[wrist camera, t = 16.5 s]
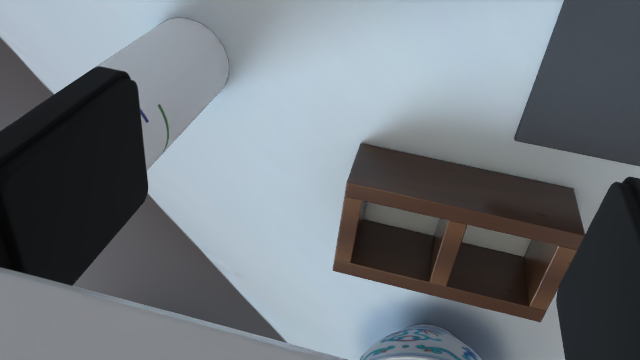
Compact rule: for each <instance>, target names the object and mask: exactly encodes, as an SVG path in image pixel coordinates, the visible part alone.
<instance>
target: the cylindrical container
mask: <svg viewBox="0 0 640 360" xmlns="http://www.w3.org/2000/svg"><path fill="white" fill-rule="evenodd" d="M98 66H101V67H106V68H111V69H116V70H120V71H125V72H127V73H128V74H129V76H130V78H131V80H134V81H135V82H136V84H137V86H138V93H139V103H140V113H141V122H142V132H143V142H144V151H145V161H146V171H147V170H148V169H149V168H150V167H151V166H152V165H153V164H154V162H155V161H156V160H157V159H158V158H159V157H160V156H161V155H162V154H163V153H164V152H165V151H166V149H167V148H168V147H169V146H170V145H171V144H172V143H173V142H174V141H175V140H176V139H177V138H178V136H179V135H180V134H181V133H182V132H183V131H184V130H185V129H186V128H187V127H188V126H189V125H190V124H191V122H192V121H193V120H194V119H195V118H196V117H197V116H198V115H199V114H200V113H201V112H202V111H203V110H204V108H205V107H206V106H207V105H208V104H209V103H210V102H211V101H212V100H213V99H214V98H215V97H216V96H217V94H218V93H219V92H220V91H221V90H222V89H223V87H224V86H225V84H226V82H227V79H228V74H229V62H228V58H227V54H226V52H225V49H224V47H223V45H222V44H221V42H220V41H219V39H218V38H217V37H216V36H215V34H214V33H213V32H211V31H210V30H209V29H208V28H207V27H205V26H203V25H202V24H200V23H198V22H196V21H193V20H191V19H185V18H173V19H170V20H166V21H165V22H163V23H161V24H160V25H158V26H157V27H155V28H154V29H152V30H151V31H149V32H148V33H146V34H145V35H143V36H142V37H140V38H139V39H137V40H135V41H134V42H132V43H131V44H129V45H128V46H126V47H125V48H123V49H122V50H120V51H119V52H117V53H116V54H114V55H113V56H111V57H110V58H108V59H107V60H105V61H104V62H102V63H101V64H99V65H98ZM96 67H97V66H96ZM18 119H19V118H18ZM15 121H16V120H15ZM9 125H10V124H9ZM6 127H7V126H6ZM3 129H4V128H3ZM0 131H1V130H0Z"/></svg>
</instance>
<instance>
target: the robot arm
mask: <svg viewBox="0 0 640 360" xmlns="http://www.w3.org/2000/svg"><path fill="white" fill-rule="evenodd" d="M147 193H148V180H147V171H146V161H145V151H144V142H143V132H142V122H141V113H140V103H139V93H138V86H137V84H136V82H135V81H134V80H131V78H130V76H129V74H128V73H127V72H125V71H120V70H116V69H111V68H106V67H101V66H97V67H95V68H93V69H92V70H90V71H89V72H87V73H86V74H84V75H83V76H81V77H80V78H78V79H77V80H75V81H74V82H72V83H71V84H69V85H68V86H66V87H65V88H63V89H62V90H60V91H59V92H57V93H56V94H54V95H53V96H51V97H50V98H48V99H47V100H45V101H44V102H42V103H41V104H39V105H38V106H36V107H35V108H33V109H32V110H30V111H29V112H27V113H26V114H25V115H23V116H22V117H20V118H19V119H17V120H16V121H14V122H13V123H11V124H10V125H8V126H7V127H5V128H4V129H2V130H1V131H0V360H347V359H343V358H339V357H336V356H332V355H328V354H325V353H321V352H317V351H314V350H310V349H306V348H303V347H299V346H295V345H292V344H288V343H284V342H280V341H277V340H273V339H269V338H266V337H262V336H258V335H255V334H251V333H247V332H243V331H240V330H236V329H232V328H229V327H225V326H221V325H217V324H214V323H210V322H206V321H203V320H199V319H195V318H191V317H188V316H184V315H180V314H177V313H173V312H169V311H165V310H162V309H158V308H154V307H150V306H146V305H142V304H139V303H135V302H131V301H127V300H124V299H120V298H116V297H112V296H108V295H105V294H101V293H97V292H93V291H90V290H86V289H82V288H78V287H75V286H72V285H73V284H74V283H75V282H76V281H77V280H78V278H79V277H80V276H81V275H82V274H83V272H84V271H85V270H86V269H87V268H88V267H89V266H90V264H91V263H92V262H93V261H94V260H95V259H96V257H97V256H98V255H99V254H100V253H101V252H102V250H103V249H104V248H105V247H106V246H107V245H108V243H109V242H110V241H111V240H112V239H113V237H114V236H115V235H116V234H117V233H118V232H119V230H120V229H121V228H122V227H123V226H124V225H125V224H126V222H127V221H128V220H129V219H130V218H131V216H132V215H133V214H134V213H135V212H136V211H137V210H138V208H139V207H140V206H141V205H142V204H143V202H144V201H145V199H146V196H147ZM556 302H557V310H558V316H559V322H560V329H561V335H562V342H563V348H564V354H565V360H640V179H639V178H634V177H628V178H626V179H625V180H624V181H623V182H622V183H619V182H614V183H613V184H612V185H611V186H610V188H609V190H608V192H607V193H606V195H605V197H604V199H603V201H602V203H601V205H600V207H599V209H598V211H597V213H596V215H595V217H594V219H593V221H592V223H591V225H590V227H589V228H588V230H587V232H586V234H585V236H584V238H583V240H582V242H581V244H580V246H579V248H578V250H577V252H576V254H575V256H574V258H573V260H572V262H571V263H570V265H569V267H568V269H567V271H566V273H565V275H564V277H563V279H562V281H561V283H560V285H559V288H558V291H557V299H556Z"/></svg>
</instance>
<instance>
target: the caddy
mask: <svg viewBox="0 0 640 360" xmlns="http://www.w3.org/2000/svg"><path fill="white" fill-rule="evenodd" d="M366 201H367V202H371V203H375V204H380V205H384V206H389V207H393V208H397V209H402V210H406V211H410V212H415V213H419V214H424V215H428V216H432V217H437V218H439V222H438V225H437V228H436V232H435V235H434V236H430V235H426V234H421V233H417V232H413V231H409V230H404V229H400V228H396V227H391V226H387V225H383V224H379V223H374V222H370V221H366V220H363V216H364V211H365V206H366ZM467 225H472V226H476V227H480V228H485V229H489V230H494V231H498V232H502V233H507V234H511V235H515V236H520V237H524V238H529V239H532V241H531V243H530V245H529V248H528V250H527V252H526V254H525V257H520V256H516V255H511V254H507V253H503V252H498V251H494V250H490V249H486V248H481V247H477V246H473V245H468V244H464V243H461V242H462V239H463V236H464V233H465V230H466V227H467ZM584 236H585V233H584V229H583V225H582V221H581V217H580V213H579V209H578V205H577V201H576V197H575V193H574V189H572V188H568V187H563V186H558V185H554V184H549V183H544V182H540V181H535V180H530V179H526V178H521V177H516V176H512V175H507V174H502V173H498V172H493V171H488V170H484V169H479V168H474V167H469V166H465V165H460V164H455V163H451V162H446V161H441V160H437V159H432V158H427V157H423V156H418V155H413V154H409V153H404V152H399V151H395V150H390V149H385V148H381V147H376V146H371V145H367V144H362V143H361V144H360V147H359V149H358V152H357V155H356V158H355V161H354V163H353V166H352V169H351V172H350V175H349V177H348V180H347V184H346V190H345V197H344V202H343V208H342V215H341V221H340V227H339V233H338V239H337V246H336V252H335V259H334V264H333V271H336V272H340V273H344V274H348V275H352V276H356V277H360V278H364V279H368V280H372V281H376V282H380V283H384V284H389V285H393V286H397V287H401V288H405V289H409V290H413V291H417V292H421V293H425V294H429V295H433V296H437V297H441V298H445V299H449V300H453V301H457V302H461V303H465V304H469V305H473V306H477V307H481V308H485V309H489V310H493V311H497V312H501V313H505V314H509V315H513V316H517V317H521V318H525V319H529V320H533V321H537V322H541V321H542V319H543V317H544V315H545V313H546V310H547V309H548V307H549V305H550V303H551V301H552V299H553V297H554V295H555V293H556V291H557V289H558V288H559V285H560V283H561V281H562V279H563V277H564V275H565V273H566V271H567V269H568V267H569V265H570V263H571V262H572V260H573V258H574V256H575V254H576V252H577V250H578V248H579V246H580V244H581V242H582V240H583V238H584Z"/></svg>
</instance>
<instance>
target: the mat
mask: <svg viewBox="0 0 640 360" xmlns="http://www.w3.org/2000/svg"><path fill="white" fill-rule="evenodd" d="M514 139H515V141H519V142H524V143H529V144H534V145H539V146H544V147H548V148H553V149H558V150H563V151H568V152H573V153H578V154H583V155H587V156H592V157H597V158H602V159H607V160H612V161H617V162H621V163H626V164H631V165H636V166H640V0H564V3H563V5H562V8H561V11H560V14H559V16H558V19H557V22H556V25H555V27H554V30H553V33H552V36H551V38H550V41H549V44H548V47H547V49H546V52H545V55H544V58H543V60H542V63H541V66H540V69H539V71H538V74H537V77H536V80H535V82H534V85H533V88H532V91H531V93H530V96H529V99H528V102H527V105H526V107H525V110H524V113H523V116H522V118H521V121H520V124H519V127H518V129H517V132H516V135H515V138H514Z"/></svg>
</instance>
